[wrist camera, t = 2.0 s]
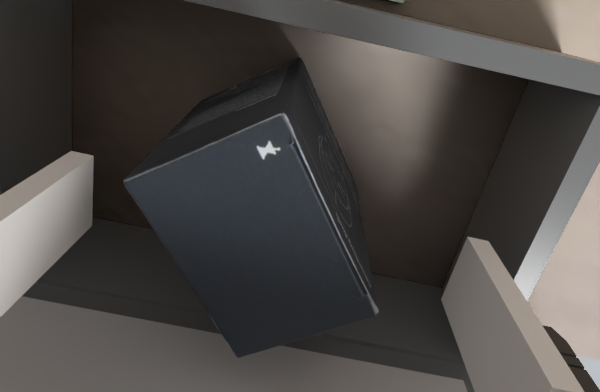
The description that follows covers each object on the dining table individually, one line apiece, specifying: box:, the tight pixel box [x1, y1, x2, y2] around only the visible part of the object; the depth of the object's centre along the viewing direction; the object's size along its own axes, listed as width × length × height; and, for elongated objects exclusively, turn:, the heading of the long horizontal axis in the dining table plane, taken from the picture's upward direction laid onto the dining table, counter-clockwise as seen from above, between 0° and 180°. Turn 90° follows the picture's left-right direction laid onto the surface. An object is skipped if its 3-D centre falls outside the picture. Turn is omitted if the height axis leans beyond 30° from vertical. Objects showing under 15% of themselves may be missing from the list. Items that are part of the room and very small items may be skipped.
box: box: [123, 58, 379, 358], centre depth 19 cm, size 8×6×11 cm
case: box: [0, 0, 600, 392], centre depth 15 cm, size 26×16×20 cm, turn 78°
